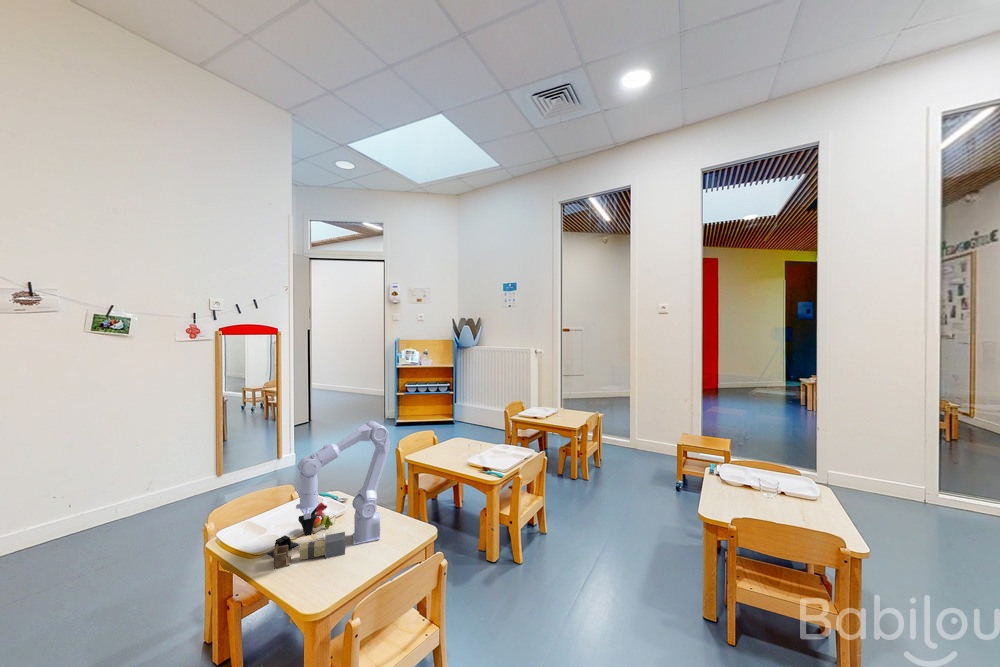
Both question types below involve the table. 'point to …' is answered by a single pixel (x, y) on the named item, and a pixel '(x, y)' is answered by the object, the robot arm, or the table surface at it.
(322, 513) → the bird rattle
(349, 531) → the table surface
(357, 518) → the robot arm
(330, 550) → the sleeve
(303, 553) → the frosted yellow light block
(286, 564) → the socket
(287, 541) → the black recessed box
